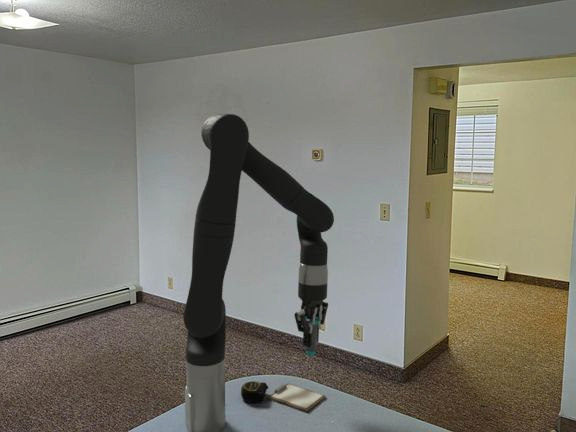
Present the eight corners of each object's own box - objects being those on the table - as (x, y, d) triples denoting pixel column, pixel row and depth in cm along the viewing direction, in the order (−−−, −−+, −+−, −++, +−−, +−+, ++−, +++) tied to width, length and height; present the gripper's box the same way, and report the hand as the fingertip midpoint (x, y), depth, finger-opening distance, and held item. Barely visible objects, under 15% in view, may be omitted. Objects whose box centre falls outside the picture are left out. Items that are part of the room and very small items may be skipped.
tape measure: (263, 406, 131) (263, 393, 130) (238, 404, 132) (238, 390, 131) (268, 393, 138) (268, 381, 137) (244, 391, 139) (244, 379, 138)
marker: (307, 356, 128) (308, 322, 127) (302, 351, 131) (304, 318, 130) (318, 354, 130) (319, 321, 128) (313, 350, 132) (314, 317, 131)
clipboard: (268, 399, 134) (268, 393, 134) (288, 385, 142) (288, 380, 142) (307, 412, 128) (307, 406, 127) (325, 397, 135) (325, 392, 135)
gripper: (311, 288, 120) (309, 356, 122) (338, 277, 132) (336, 339, 134) (285, 283, 124) (284, 349, 126) (314, 272, 136) (312, 333, 138)
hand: (310, 343), depth 130 cm, fingers closed on marker, 3 cm apart
